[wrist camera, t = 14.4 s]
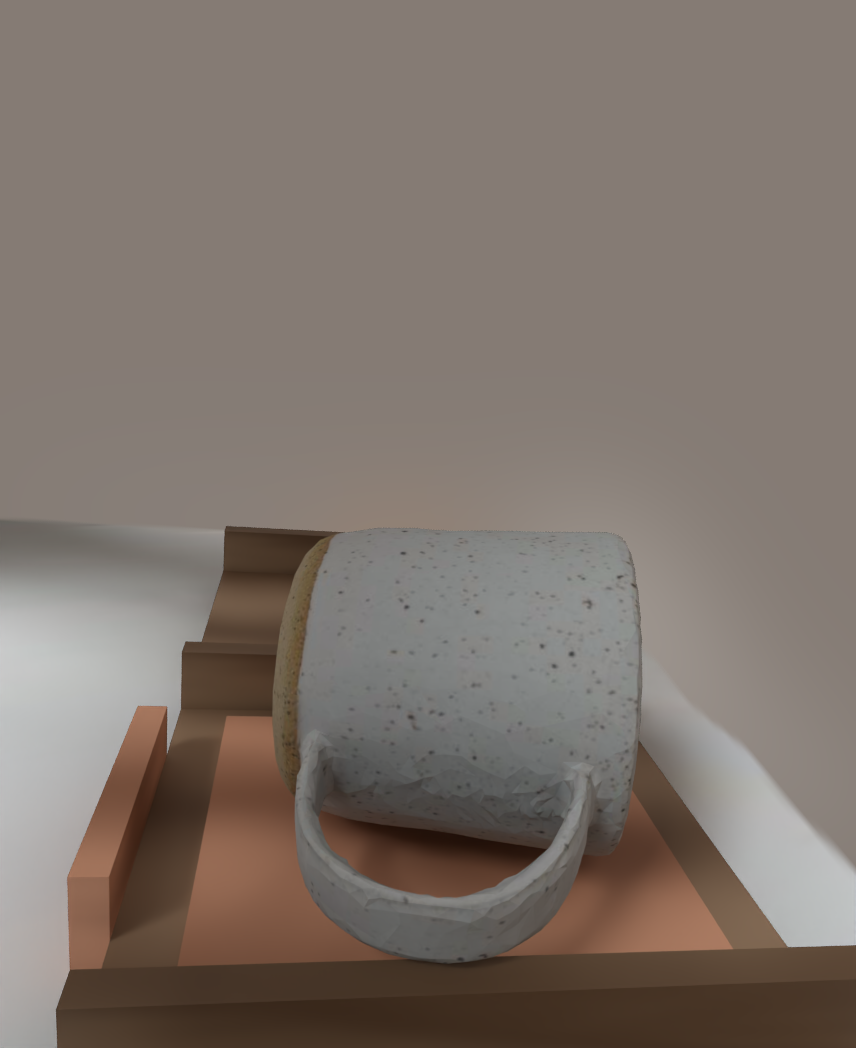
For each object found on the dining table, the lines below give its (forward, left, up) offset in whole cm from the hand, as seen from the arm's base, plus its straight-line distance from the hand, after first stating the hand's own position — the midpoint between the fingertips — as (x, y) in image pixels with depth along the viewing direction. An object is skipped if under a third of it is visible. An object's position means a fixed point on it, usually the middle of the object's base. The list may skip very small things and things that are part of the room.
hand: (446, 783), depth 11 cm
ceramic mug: (-4, +6, -6) cm, 10 cm away
